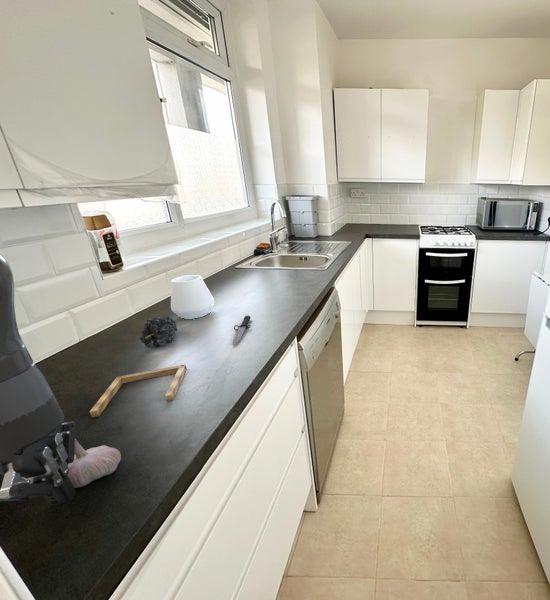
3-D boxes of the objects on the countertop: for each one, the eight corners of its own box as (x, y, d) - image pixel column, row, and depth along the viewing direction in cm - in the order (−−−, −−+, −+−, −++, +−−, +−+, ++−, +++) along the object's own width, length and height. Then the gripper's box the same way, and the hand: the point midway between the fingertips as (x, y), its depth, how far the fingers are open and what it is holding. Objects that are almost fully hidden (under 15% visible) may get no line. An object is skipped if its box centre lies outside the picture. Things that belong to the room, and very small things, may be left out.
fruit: (158, 304, 99) (135, 322, 86) (188, 308, 102) (171, 327, 89) (155, 328, 101) (133, 350, 88) (185, 332, 104) (168, 354, 91)
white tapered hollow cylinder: (225, 311, 116) (216, 275, 111) (188, 325, 105) (177, 286, 100) (202, 305, 122) (193, 271, 117) (166, 318, 111) (154, 281, 106)
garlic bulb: (48, 498, 48) (24, 460, 45) (88, 459, 55) (70, 423, 52) (100, 494, 49) (80, 456, 46) (133, 455, 56) (118, 420, 53)
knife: (241, 341, 91) (222, 343, 90) (242, 347, 92) (224, 349, 91) (254, 314, 108) (238, 315, 107) (255, 319, 109) (240, 320, 108)
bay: (173, 400, 69) (171, 394, 69) (92, 417, 65) (89, 411, 64) (187, 368, 81) (185, 364, 80) (119, 381, 76) (116, 376, 76)
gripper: (7, 382, 44) (58, 472, 50) (-88, 454, 32) (-6, 559, 38) (75, 370, 46) (116, 457, 52) (9, 434, 35) (72, 536, 41)
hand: (64, 500), depth 45 cm, fingers closed
